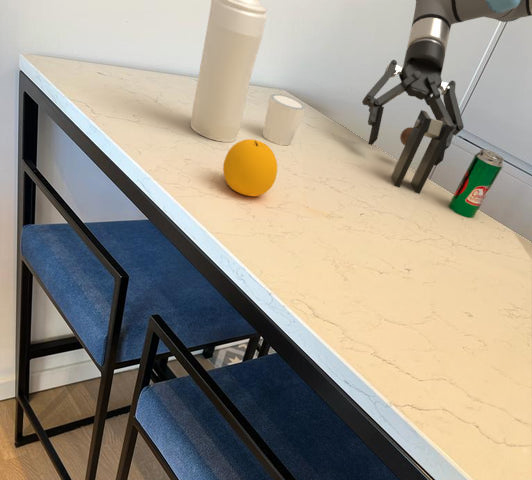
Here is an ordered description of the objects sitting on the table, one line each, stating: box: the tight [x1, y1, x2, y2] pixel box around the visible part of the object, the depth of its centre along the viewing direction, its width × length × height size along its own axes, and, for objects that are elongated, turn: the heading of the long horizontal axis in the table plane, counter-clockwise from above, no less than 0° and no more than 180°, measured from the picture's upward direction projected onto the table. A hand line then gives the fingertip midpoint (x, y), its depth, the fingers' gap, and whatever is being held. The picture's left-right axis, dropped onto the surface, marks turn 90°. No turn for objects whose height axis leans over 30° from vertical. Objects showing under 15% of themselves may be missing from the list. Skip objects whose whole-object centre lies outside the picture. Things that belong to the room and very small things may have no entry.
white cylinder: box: [262, 93, 306, 146], centre depth 105 cm, size 7×7×7 cm
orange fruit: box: [222, 138, 278, 197], centre depth 83 cm, size 8×8×8 cm
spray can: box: [190, 0, 268, 143], centre depth 92 cm, size 12×11×25 cm
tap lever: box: [399, 117, 443, 146], centre depth 104 cm, size 14×3×3 cm, turn 179°
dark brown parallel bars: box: [390, 109, 453, 195], centre depth 102 cm, size 10×8×14 cm
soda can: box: [447, 148, 505, 219], centre depth 101 cm, size 5×5×12 cm
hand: (405, 152), depth 109 cm, fingers open, 13 cm apart
